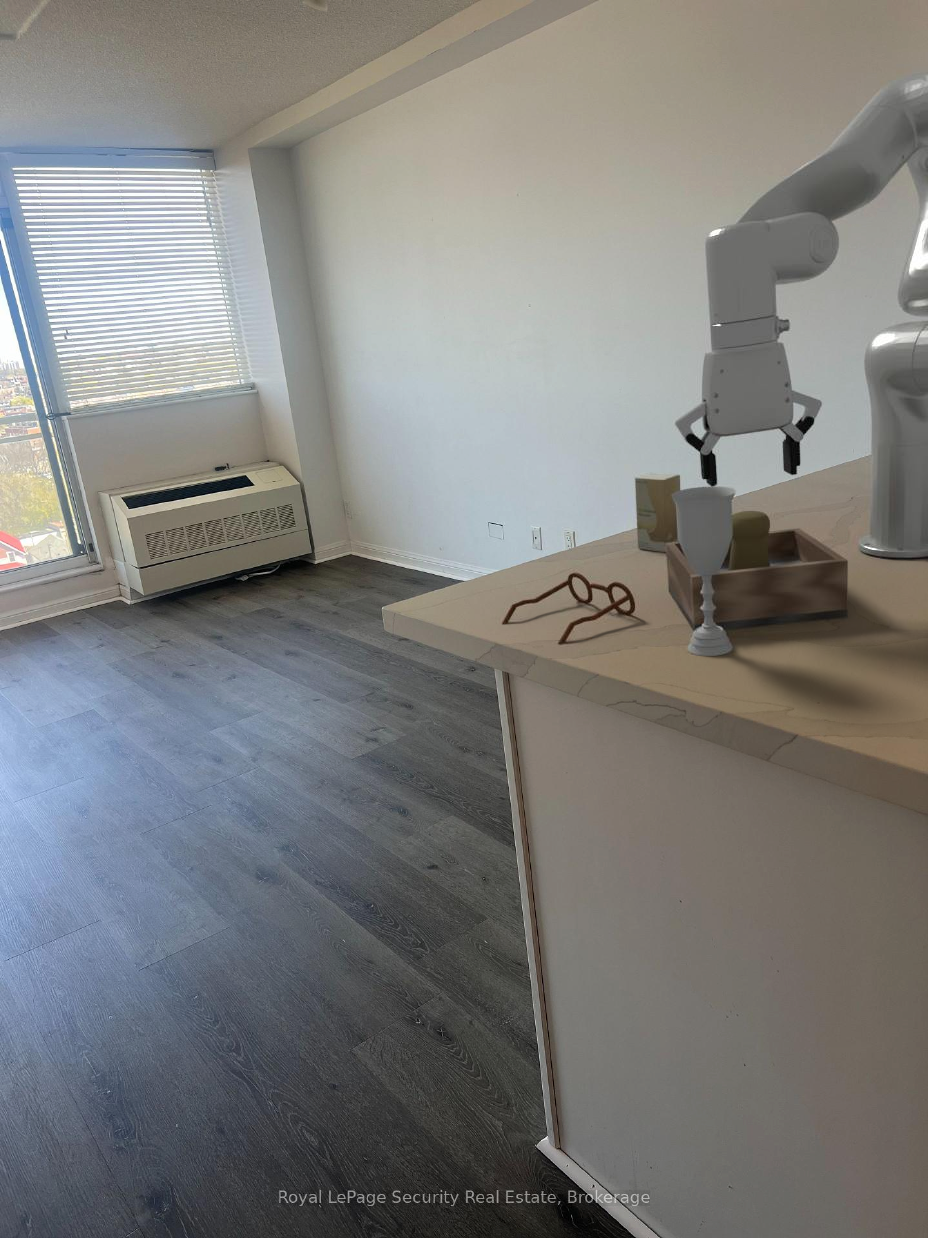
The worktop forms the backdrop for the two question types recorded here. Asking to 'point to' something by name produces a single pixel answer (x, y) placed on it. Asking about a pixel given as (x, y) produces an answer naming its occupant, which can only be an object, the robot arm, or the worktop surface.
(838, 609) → the wooden box
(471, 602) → the worktop surface
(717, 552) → the chalice
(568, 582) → the glasses
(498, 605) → the worktop surface
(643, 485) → the skincare box
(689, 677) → the worktop surface
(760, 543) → the cork
